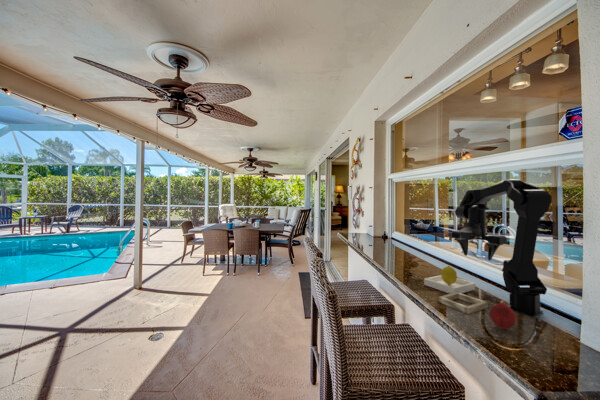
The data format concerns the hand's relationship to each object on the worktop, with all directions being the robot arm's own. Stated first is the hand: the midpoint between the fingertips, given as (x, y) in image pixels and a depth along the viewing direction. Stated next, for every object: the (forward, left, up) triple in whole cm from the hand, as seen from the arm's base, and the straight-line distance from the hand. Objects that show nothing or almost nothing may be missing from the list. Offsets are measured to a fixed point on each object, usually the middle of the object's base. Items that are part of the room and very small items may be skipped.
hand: (477, 257), depth 102 cm
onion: (-23, +29, -12) cm, 39 cm away
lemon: (+5, +11, -11) cm, 17 cm away
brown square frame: (-8, +23, -12) cm, 27 cm away
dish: (+5, +11, -12) cm, 17 cm away
